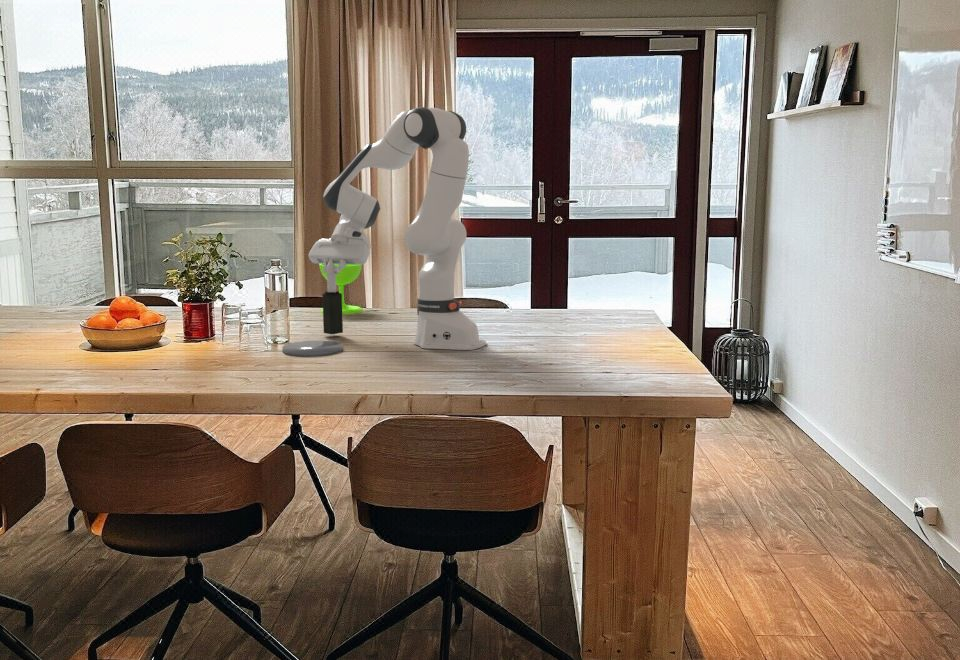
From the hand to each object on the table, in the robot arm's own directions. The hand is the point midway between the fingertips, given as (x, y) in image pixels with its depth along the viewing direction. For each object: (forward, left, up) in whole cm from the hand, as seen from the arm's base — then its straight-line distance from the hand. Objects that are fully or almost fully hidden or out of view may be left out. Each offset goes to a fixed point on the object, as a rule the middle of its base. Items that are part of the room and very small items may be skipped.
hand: (330, 272), depth 297 cm
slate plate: (-6, +21, -21) cm, 31 cm away
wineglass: (+24, -48, -21) cm, 58 cm away
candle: (0, -1, -20) cm, 20 cm away
